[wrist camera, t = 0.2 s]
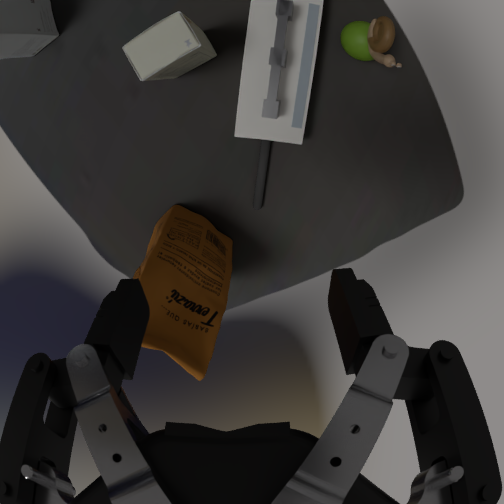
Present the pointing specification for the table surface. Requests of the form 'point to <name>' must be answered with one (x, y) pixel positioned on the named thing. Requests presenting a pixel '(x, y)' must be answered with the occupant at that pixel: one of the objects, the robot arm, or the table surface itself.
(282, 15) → the breaker paddles
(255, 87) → the strip
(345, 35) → the snail figurine
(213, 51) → the skincare box
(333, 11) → the table surface
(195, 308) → the coffee package
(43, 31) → the skincare box
